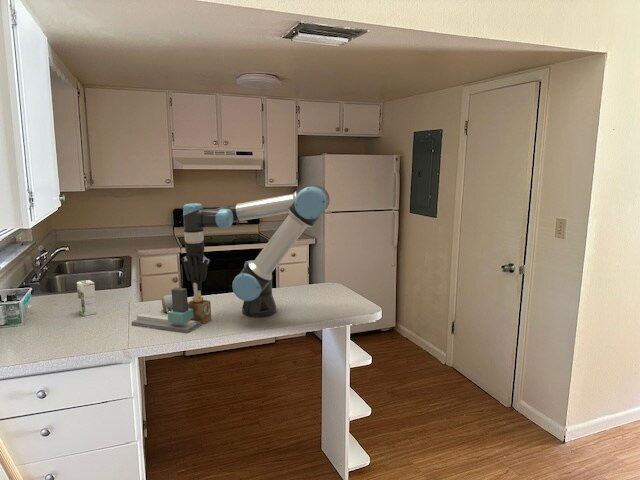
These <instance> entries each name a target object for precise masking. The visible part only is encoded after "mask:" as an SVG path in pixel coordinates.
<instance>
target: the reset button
mask: <svg viewBox="0 0 640 480" xmlns="http://www.w3.org/2000/svg"><path fill="white" fill-rule="evenodd" d="M203 300H204V297H203V296H201V297H200V298H198V299H196V298H194V296H193V297H192V300H191V301H193V302H202V301H203Z"/></svg>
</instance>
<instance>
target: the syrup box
mask: <svg viewBox="0 0 640 480" xmlns="http://www.w3.org/2000/svg"><path fill="white" fill-rule="evenodd" d="M76 289H77V303H78V304H77V305H78V312H79V314H80V315H81V316H83V317H87V316H92V315H94V314H95V315H96V314H97V313H98V311H97V300H96V289H95V282H94V281H92V280H91V279H88V280H87V279H86V280H79V281H77V282H76Z"/></svg>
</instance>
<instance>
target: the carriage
mask: <svg viewBox="0 0 640 480" xmlns="http://www.w3.org/2000/svg"><path fill="white" fill-rule="evenodd" d="M187 289H188V288H183V287H174V288H171V294H172V305H173V310H172V311H170V312H168V313H167V317H168V322H175V323H182V324H183V323H185V322H187V321H189V320H190V319H192V318H194V314H193V309H189V308H188V302H189V301H188V290H187Z"/></svg>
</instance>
